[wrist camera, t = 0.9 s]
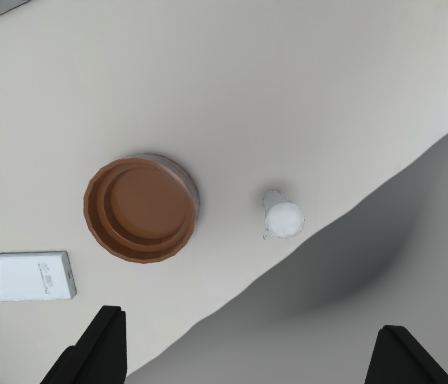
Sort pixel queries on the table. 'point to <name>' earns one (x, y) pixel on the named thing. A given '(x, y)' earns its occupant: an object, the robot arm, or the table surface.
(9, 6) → the power supply unit
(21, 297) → the hard drive
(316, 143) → the table surface
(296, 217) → the milkshake
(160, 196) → the bowl
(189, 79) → the table surface
